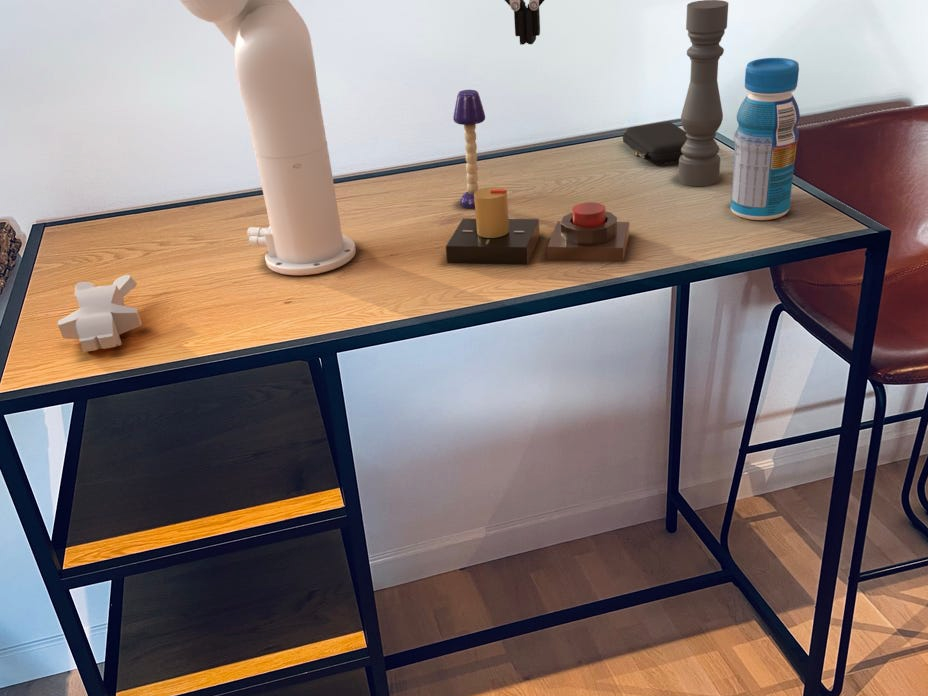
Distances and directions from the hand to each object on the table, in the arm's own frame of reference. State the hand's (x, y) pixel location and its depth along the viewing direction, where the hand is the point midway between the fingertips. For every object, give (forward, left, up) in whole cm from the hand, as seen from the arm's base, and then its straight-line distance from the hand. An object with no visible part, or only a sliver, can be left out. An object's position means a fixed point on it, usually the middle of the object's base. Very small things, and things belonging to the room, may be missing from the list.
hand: (528, 41), depth 127 cm
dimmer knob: (-4, -8, -23) cm, 24 cm away
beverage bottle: (+31, +7, -25) cm, 41 cm away
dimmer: (-4, -8, -25) cm, 27 cm away
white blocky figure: (-49, -35, -25) cm, 65 cm away
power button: (+8, -7, -22) cm, 24 cm away
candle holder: (+22, +20, -25) cm, 39 cm away
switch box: (+8, -7, -25) cm, 27 cm away
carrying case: (+15, +33, -25) cm, 44 cm away
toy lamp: (-11, +9, -25) cm, 29 cm away
